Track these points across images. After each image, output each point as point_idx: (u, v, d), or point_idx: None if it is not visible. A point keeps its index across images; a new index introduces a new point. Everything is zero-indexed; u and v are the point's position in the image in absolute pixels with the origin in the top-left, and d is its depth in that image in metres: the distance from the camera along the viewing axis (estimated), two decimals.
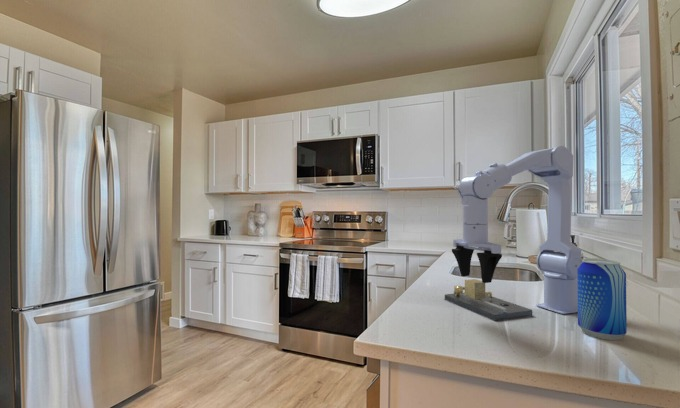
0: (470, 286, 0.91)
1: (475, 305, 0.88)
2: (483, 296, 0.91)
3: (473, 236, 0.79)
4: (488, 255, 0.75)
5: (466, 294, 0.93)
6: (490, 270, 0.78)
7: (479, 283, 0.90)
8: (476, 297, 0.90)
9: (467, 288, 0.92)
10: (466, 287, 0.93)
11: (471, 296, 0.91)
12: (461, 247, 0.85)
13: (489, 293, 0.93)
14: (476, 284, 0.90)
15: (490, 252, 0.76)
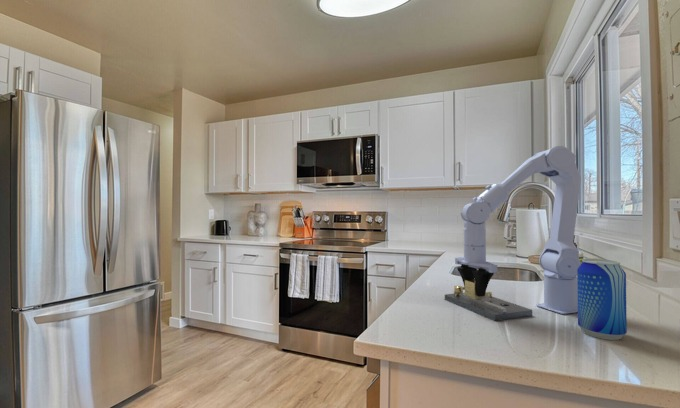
0: (470, 286, 0.91)
1: (475, 305, 0.88)
2: (483, 296, 0.91)
3: (473, 257, 0.90)
4: (482, 273, 0.88)
5: (466, 294, 0.93)
6: (483, 285, 0.90)
7: None
8: (476, 297, 0.90)
9: (467, 288, 0.92)
10: (466, 287, 0.93)
11: (471, 296, 0.91)
12: (466, 266, 0.95)
13: (489, 293, 0.93)
14: None
15: (483, 270, 0.88)
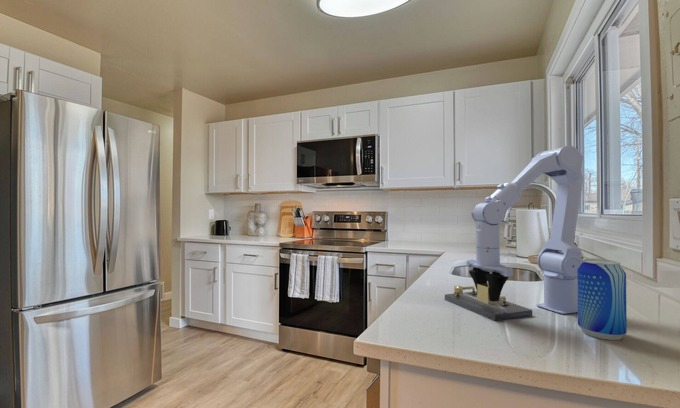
0: (484, 290, 0.87)
1: (475, 305, 0.88)
2: (497, 301, 0.86)
3: (486, 259, 0.85)
4: (496, 276, 0.83)
5: (479, 299, 0.88)
6: (498, 290, 0.85)
7: None
8: (490, 302, 0.85)
9: (480, 292, 0.88)
10: (479, 291, 0.88)
11: (484, 301, 0.86)
12: (478, 269, 0.90)
13: (503, 298, 0.89)
14: None
15: (498, 274, 0.83)
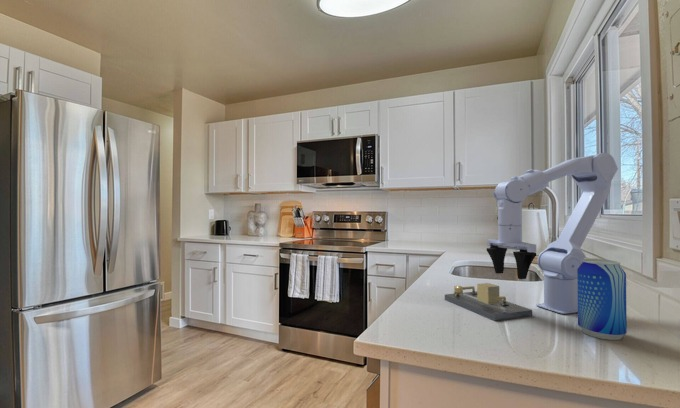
0: (484, 290, 0.87)
1: (475, 305, 0.88)
2: (497, 301, 0.86)
3: (509, 237, 0.86)
4: (524, 254, 0.83)
5: (479, 299, 0.88)
6: (525, 267, 0.85)
7: (493, 287, 0.86)
8: (490, 302, 0.85)
9: (480, 292, 0.88)
10: (479, 291, 0.88)
11: (484, 301, 0.86)
12: (495, 246, 0.93)
13: (503, 298, 0.89)
14: (490, 288, 0.85)
15: (526, 251, 0.83)
